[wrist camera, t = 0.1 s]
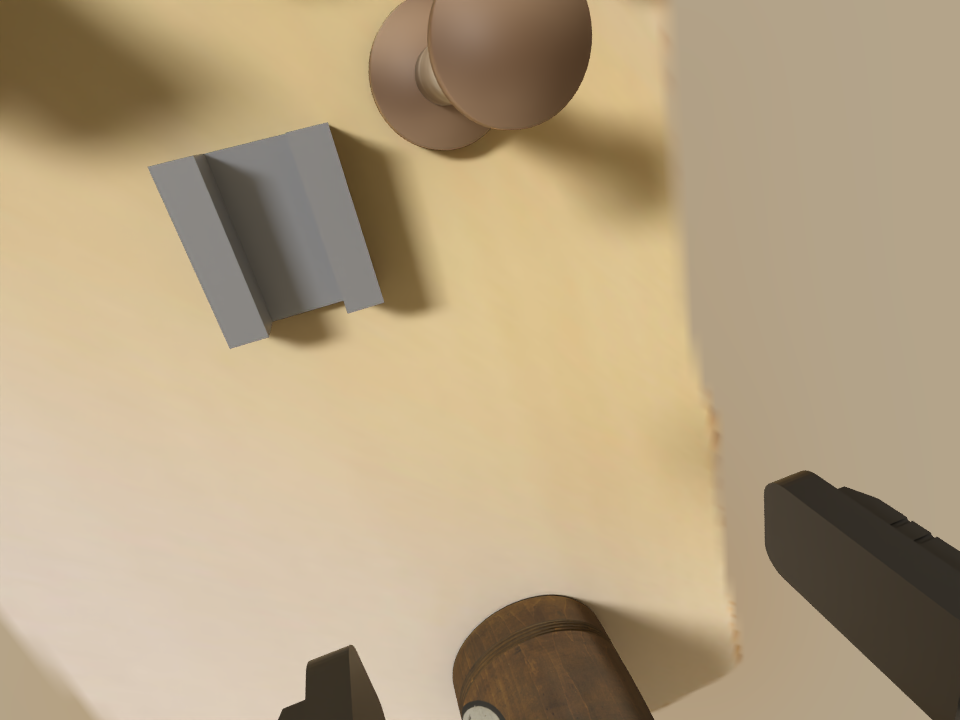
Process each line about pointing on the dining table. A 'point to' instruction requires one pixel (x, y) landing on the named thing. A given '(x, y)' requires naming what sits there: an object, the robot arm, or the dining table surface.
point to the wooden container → (544, 667)
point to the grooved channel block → (269, 230)
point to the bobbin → (477, 66)
